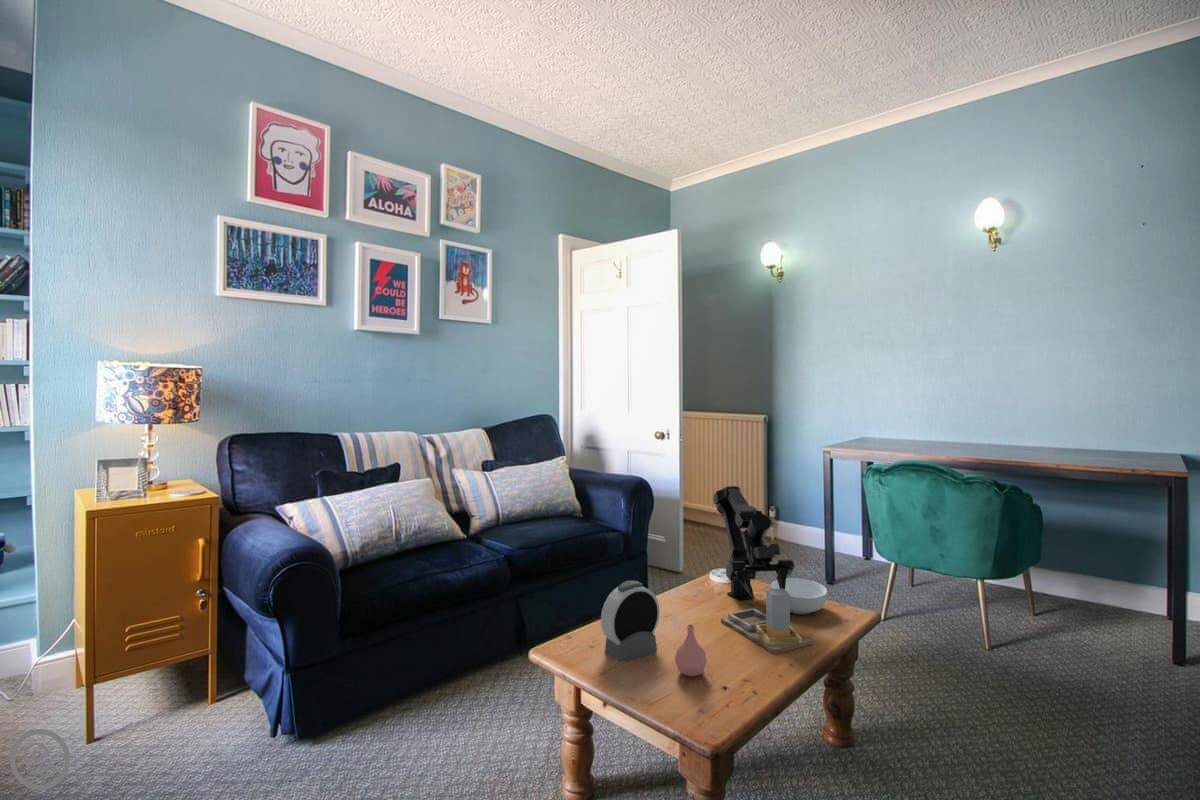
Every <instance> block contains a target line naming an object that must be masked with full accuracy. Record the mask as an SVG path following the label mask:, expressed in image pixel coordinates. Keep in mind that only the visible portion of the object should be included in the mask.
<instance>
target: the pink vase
mask: <svg viewBox="0 0 1200 800" xmlns="http://www.w3.org/2000/svg"><path fill="white" fill-rule="evenodd" d="M674 661H675V664H676V666H677V667H676V668H677V670H678V671H679V672H680V674H683V675H686V676H688V677H695V676H700V675H702V674H704V672H705V668H706V665H707V662H708V660H707V654H706V650H705V649H704V648H703V647H702V646H701V645H700V644H699V643H698V641H697V639H696V637H695V626H694V624H688V625H687V635H686V637H685V639H684V641H683V642H682V643H681V644H680V645H679V646H678V647H677V648H676V652H675V656H674Z"/></svg>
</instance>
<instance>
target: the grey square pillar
mask: <svg viewBox="0 0 1200 800" xmlns="http://www.w3.org/2000/svg"><path fill="white" fill-rule="evenodd" d="M765 593H766V594H765V597H766V598H765V606H766V607H765V614H766V634H767V635H768V636H769V637H770V638H784V637H790V626H791V624H790V623H791V612H790V594H789V593H788V592H787V591H786V590H785V589H771V588H769V589H768V588H766V589H765Z"/></svg>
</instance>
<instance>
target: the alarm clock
mask: <svg viewBox="0 0 1200 800" xmlns="http://www.w3.org/2000/svg"><path fill="white" fill-rule="evenodd" d="M660 614H661V613H660V604H659V600H658V598H657V596H656V595H655V593H654V592H653V591H651V590H650V589H648V588H646V587H644V586H643V583H641V582H639V581H637V580H625V581H623V582H621V583H620V584H619V585H618V586H617V587H616V588H614V589H613V590H612V591H611V592H610V593H609V595H608V596H607V597H606V600H605V601H604V603H603V606H602V609H601V615H600V622H601V625H600V626H601V629H602V632H603V634H604V635H605V637H606V638H605V639H606V640H605V641H606V642H605V647H604V652H606V654H608V655H609V656H611V657H612V658H614V659H615V660H617V661H619V662H627V661H633V660H638V659H640V658H641V659H642V658H645V657H646V656H649V655H651V654H652V653H654V652H656V651H657V650H658V647H657V639H656V635H655V634H654V633H655V631H656V629H657V627H658V624H659V620H660Z"/></svg>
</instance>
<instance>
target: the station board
mask: <svg viewBox="0 0 1200 800" xmlns="http://www.w3.org/2000/svg"><path fill="white" fill-rule="evenodd" d="M720 622H721V623H722V624H724V625H726V626H727V627H729V628H730V629H732V630H734V631H736V632H737V633H739V634H740V635H743V636H744V637H745V638H747V639H748V640H751V641H752V642H754V643H755V644H757V645H759V646H760V647H762V648H764V649H765V650H767V651H769V652H771V653H772V654H774V655H777V654H780V653H783V652H788V651H792V650H796V649H798V648H803V647H806V646H810V645H812V644H813V641H812V639H809V638H808V637H806V636H804V635H803V634H800V633H798V632H797V631H796V630H795V629H794V628H793V626H791V625H790V637H784V638H770V637H769V636H768V635H767V634H766V613H764V612H761V611H760V610H758V609H756V608H754V607H753V608H748V609H743V610H740V611H734V612H730V613H728V614H727V616H726V617H725V616H724V617H722V618H720Z"/></svg>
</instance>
